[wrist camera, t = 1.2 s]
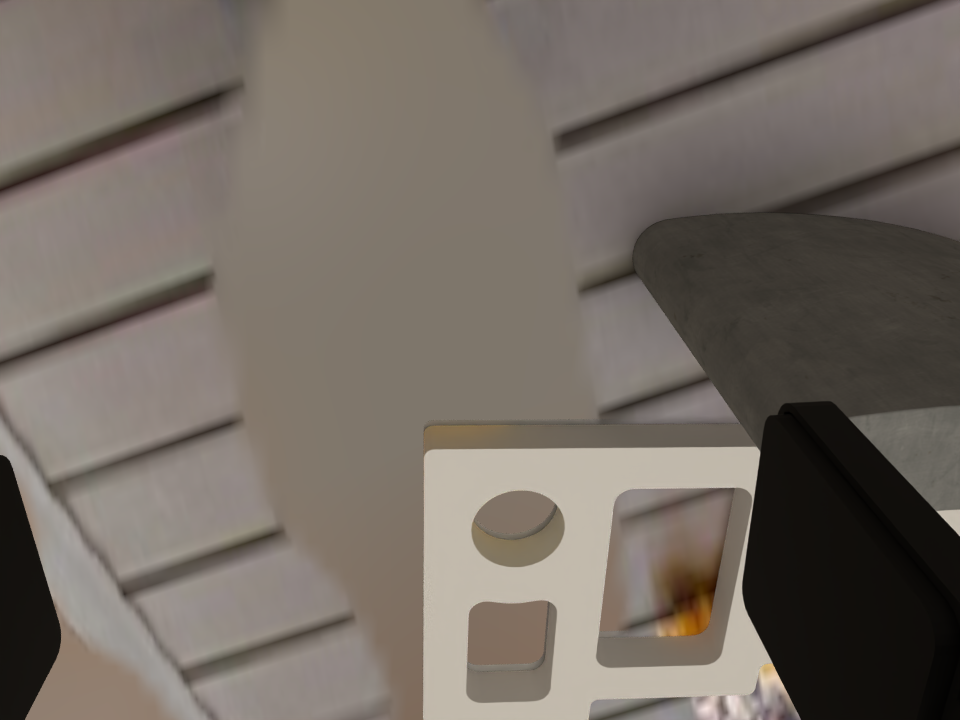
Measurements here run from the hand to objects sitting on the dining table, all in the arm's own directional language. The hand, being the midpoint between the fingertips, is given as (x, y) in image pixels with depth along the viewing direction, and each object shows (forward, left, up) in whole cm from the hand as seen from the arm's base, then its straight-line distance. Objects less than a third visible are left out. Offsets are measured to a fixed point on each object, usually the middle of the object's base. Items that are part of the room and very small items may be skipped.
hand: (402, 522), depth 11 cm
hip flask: (+5, +18, -27) cm, 32 cm away
